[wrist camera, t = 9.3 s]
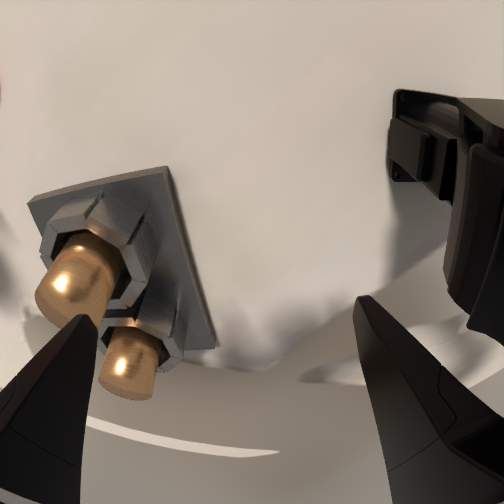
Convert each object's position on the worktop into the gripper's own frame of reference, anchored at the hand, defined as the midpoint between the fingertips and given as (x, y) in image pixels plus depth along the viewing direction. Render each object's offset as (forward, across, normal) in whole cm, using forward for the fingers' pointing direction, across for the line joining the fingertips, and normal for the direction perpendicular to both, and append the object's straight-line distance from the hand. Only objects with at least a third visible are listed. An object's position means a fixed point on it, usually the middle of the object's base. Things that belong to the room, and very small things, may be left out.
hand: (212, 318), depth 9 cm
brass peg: (+11, +10, +3) cm, 15 cm away
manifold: (+12, +10, +8) cm, 17 cm away
